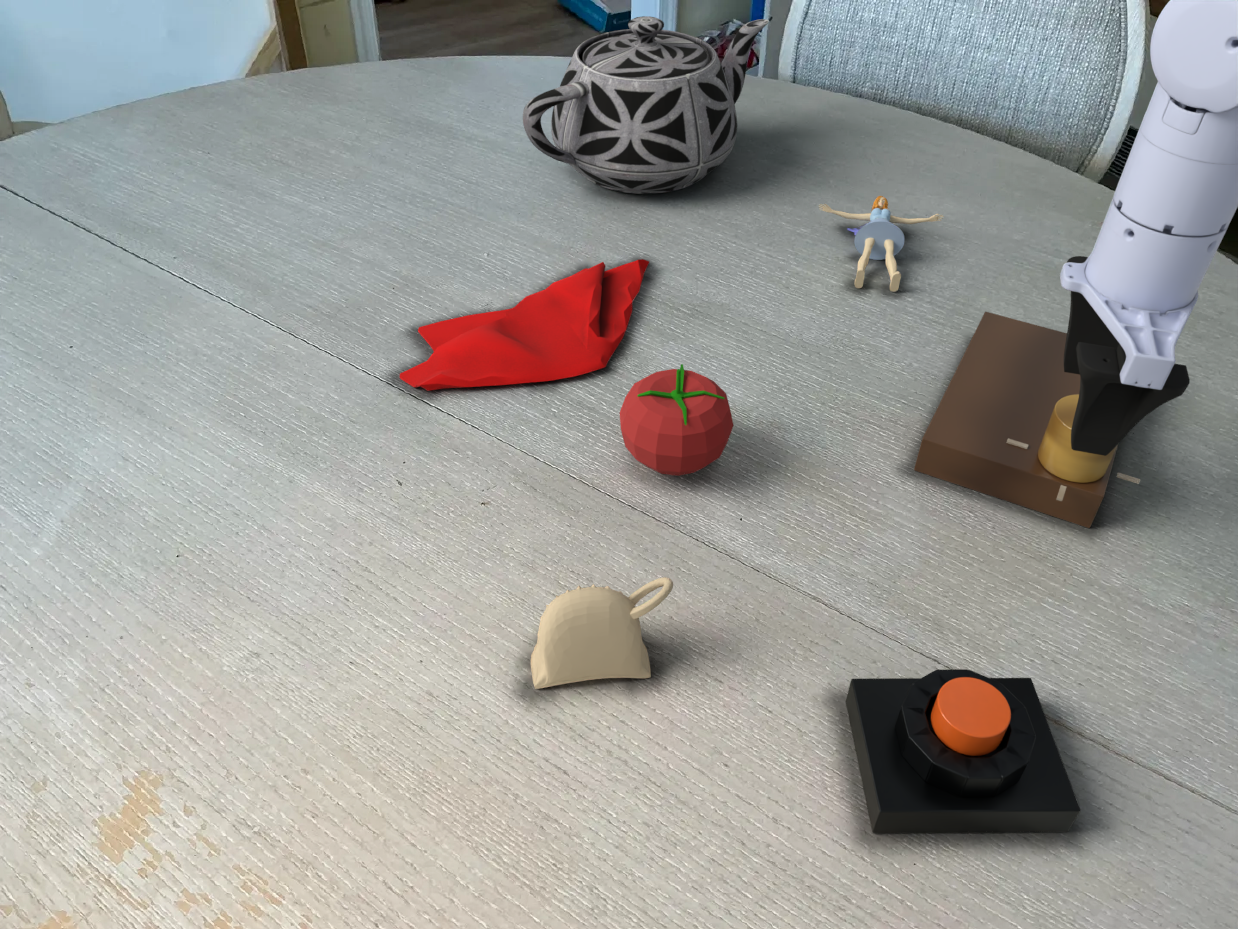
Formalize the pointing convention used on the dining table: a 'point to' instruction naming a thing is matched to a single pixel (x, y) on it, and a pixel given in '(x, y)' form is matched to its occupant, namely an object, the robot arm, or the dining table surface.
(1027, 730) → the button box
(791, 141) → the dining table surface
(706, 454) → the tomato
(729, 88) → the teapot
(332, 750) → the dining table surface
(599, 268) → the cloth
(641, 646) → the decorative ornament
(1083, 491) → the knob panel
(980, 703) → the button
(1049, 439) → the knob
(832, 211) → the fairy figurine
